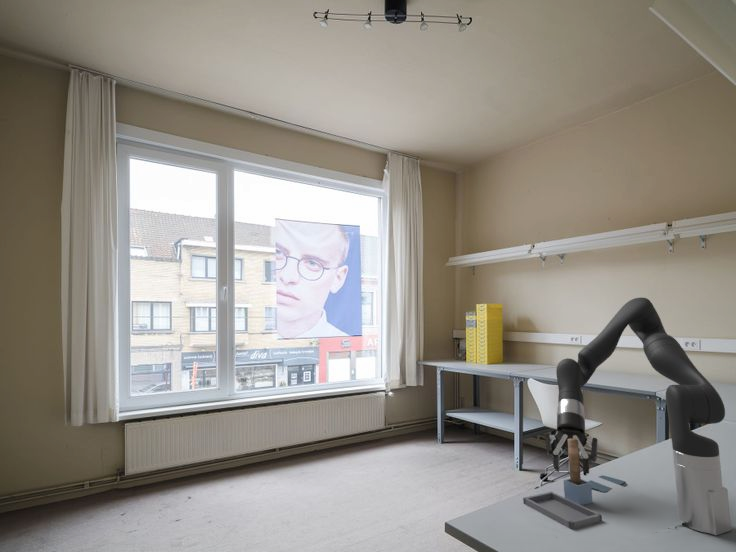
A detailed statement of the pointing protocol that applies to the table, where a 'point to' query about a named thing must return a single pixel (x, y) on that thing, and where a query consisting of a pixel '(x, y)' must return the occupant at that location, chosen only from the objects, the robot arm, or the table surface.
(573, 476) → the dowel
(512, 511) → the table surface
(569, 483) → the cup
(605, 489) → the smartphone
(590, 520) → the tray
